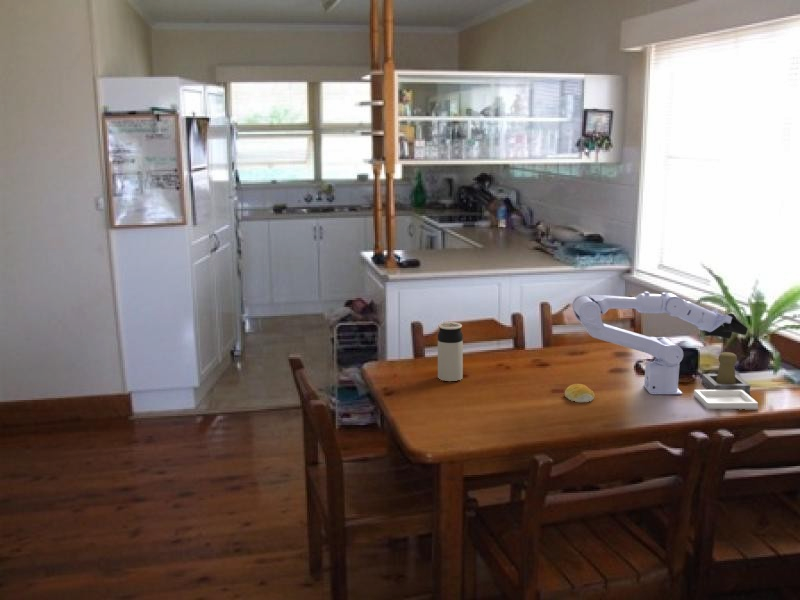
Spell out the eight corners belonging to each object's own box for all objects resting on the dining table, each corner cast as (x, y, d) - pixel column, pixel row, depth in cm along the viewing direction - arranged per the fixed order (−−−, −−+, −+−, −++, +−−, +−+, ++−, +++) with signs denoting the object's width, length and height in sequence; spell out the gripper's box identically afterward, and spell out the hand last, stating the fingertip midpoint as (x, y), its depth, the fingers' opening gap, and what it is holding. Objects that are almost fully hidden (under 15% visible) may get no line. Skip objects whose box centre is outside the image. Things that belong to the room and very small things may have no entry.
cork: (738, 391, 227) (741, 356, 224) (716, 390, 228) (719, 355, 225) (733, 384, 232) (736, 350, 230) (712, 383, 234) (715, 349, 231)
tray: (707, 409, 213) (707, 403, 212) (693, 396, 223) (694, 389, 223) (757, 409, 212) (758, 403, 212) (741, 396, 223) (742, 389, 222)
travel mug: (459, 384, 237) (459, 329, 233) (434, 381, 239) (434, 327, 235) (465, 376, 244) (465, 322, 240) (441, 373, 247) (441, 321, 243)
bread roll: (586, 392, 229) (587, 379, 228) (597, 402, 220) (598, 389, 219) (560, 393, 228) (560, 381, 227) (570, 404, 219) (570, 391, 218)
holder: (714, 393, 225) (714, 385, 225) (701, 381, 235) (702, 374, 235) (749, 393, 225) (750, 385, 224) (735, 381, 235) (736, 374, 234)
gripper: (715, 299, 217) (756, 317, 218) (688, 308, 231) (727, 325, 232) (709, 321, 215) (750, 339, 217) (682, 329, 229) (721, 345, 231)
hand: (738, 333), depth 224 cm, fingers open, 7 cm apart
